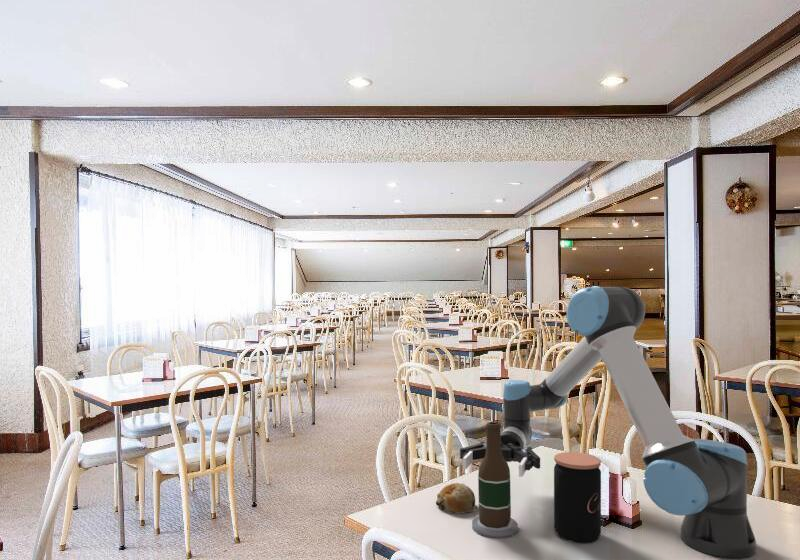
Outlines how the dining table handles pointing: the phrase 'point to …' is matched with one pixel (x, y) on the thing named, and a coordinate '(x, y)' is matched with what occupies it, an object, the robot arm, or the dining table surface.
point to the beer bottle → (494, 482)
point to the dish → (495, 529)
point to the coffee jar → (577, 497)
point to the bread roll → (456, 498)
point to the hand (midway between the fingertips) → (491, 467)
